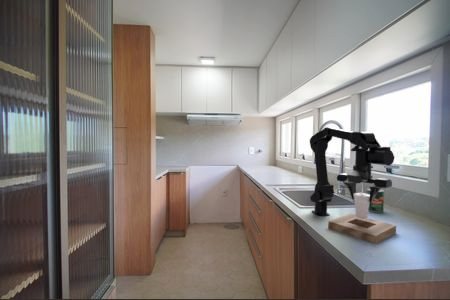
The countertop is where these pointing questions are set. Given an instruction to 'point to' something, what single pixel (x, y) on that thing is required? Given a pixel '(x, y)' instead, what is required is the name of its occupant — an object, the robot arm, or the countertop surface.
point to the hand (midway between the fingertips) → (361, 201)
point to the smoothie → (361, 204)
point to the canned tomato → (377, 202)
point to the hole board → (362, 228)
